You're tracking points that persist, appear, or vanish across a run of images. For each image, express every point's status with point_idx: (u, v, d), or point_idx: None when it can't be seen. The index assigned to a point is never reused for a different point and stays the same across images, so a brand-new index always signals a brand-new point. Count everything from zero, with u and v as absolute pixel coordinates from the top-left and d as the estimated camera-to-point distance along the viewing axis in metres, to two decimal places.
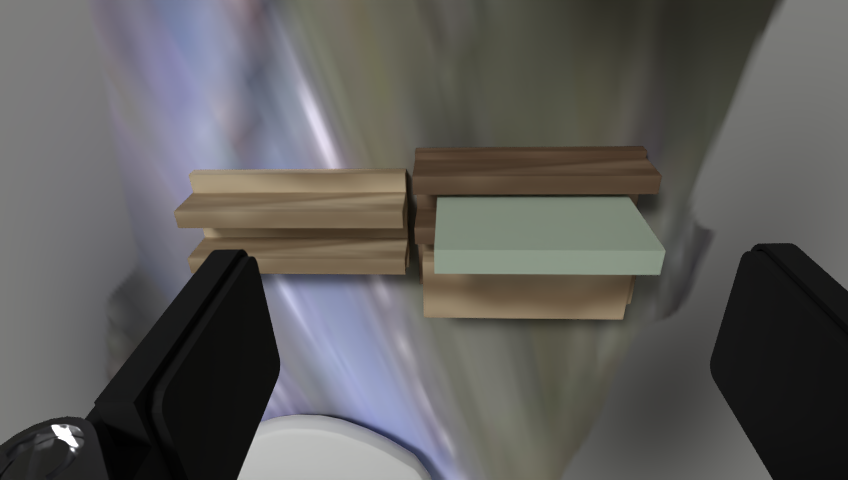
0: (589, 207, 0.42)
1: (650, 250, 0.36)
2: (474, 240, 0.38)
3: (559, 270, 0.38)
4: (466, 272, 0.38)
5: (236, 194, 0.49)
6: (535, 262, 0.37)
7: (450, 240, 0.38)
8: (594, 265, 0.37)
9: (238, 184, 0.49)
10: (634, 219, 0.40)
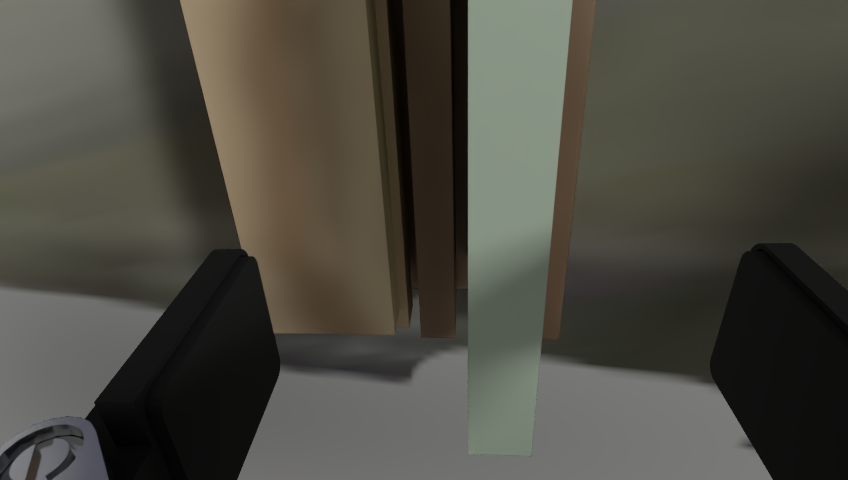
0: None
1: None
2: None
3: (480, 267, 0.13)
4: None
5: None
6: (510, 205, 0.12)
7: None
8: (496, 341, 0.14)
9: None
10: None
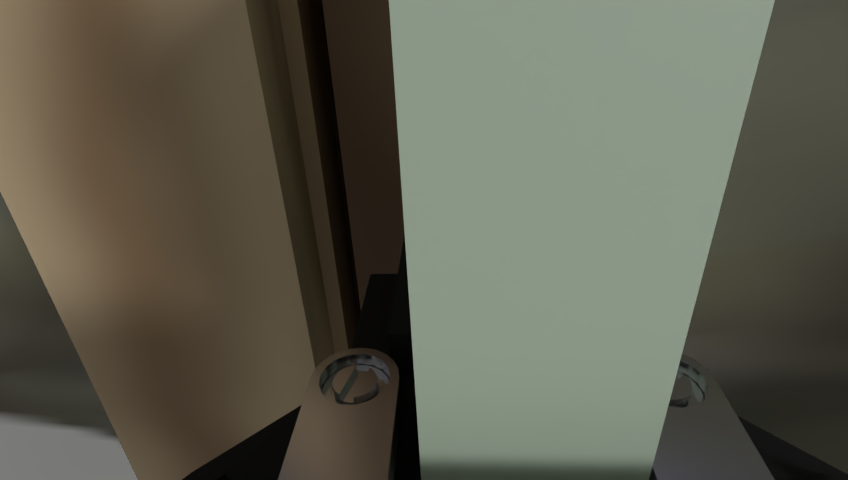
0: None
1: None
2: None
3: None
4: (415, 77, 0.03)
5: None
6: None
7: None
8: None
9: None
10: None
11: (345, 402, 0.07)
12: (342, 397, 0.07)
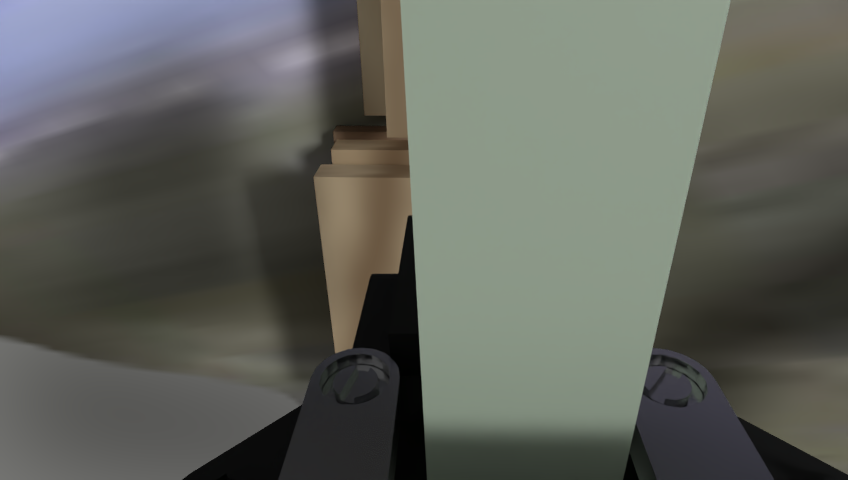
0: None
1: None
2: None
3: None
4: (422, 69, 0.03)
5: None
6: None
7: None
8: None
9: None
10: None
11: (345, 402, 0.07)
12: (343, 397, 0.07)
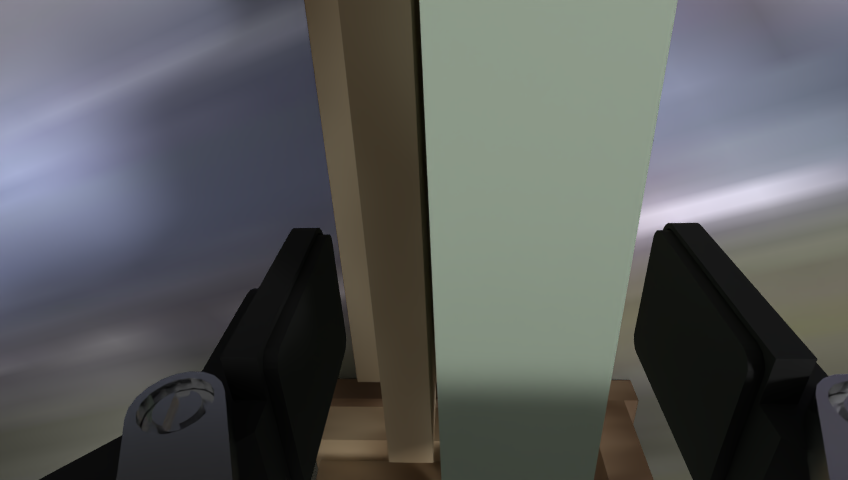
0: None
1: None
2: None
3: None
4: (436, 44, 0.04)
5: None
6: (518, 448, 0.07)
7: None
8: None
9: None
10: None
11: (170, 431, 0.07)
12: (166, 427, 0.07)
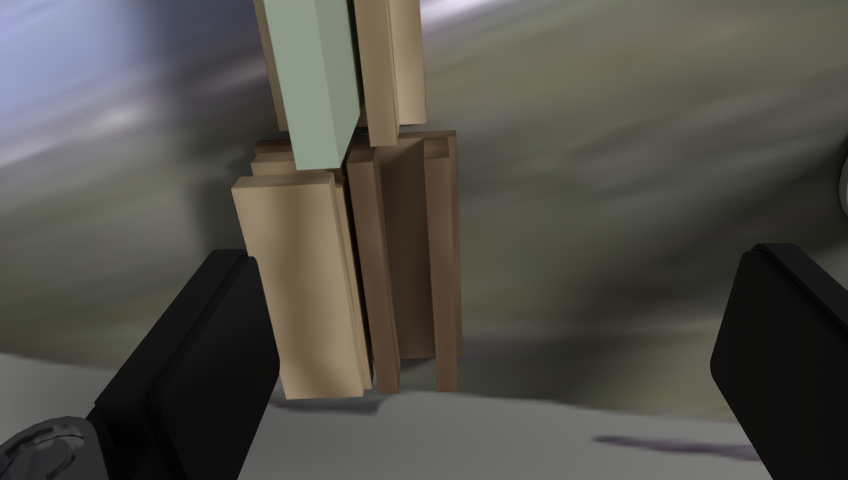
0: (348, 55, 0.28)
1: (336, 146, 0.24)
2: None
3: (271, 2, 0.21)
4: None
5: None
6: None
7: None
8: (294, 64, 0.22)
9: None
10: (350, 121, 0.28)
11: None
12: None
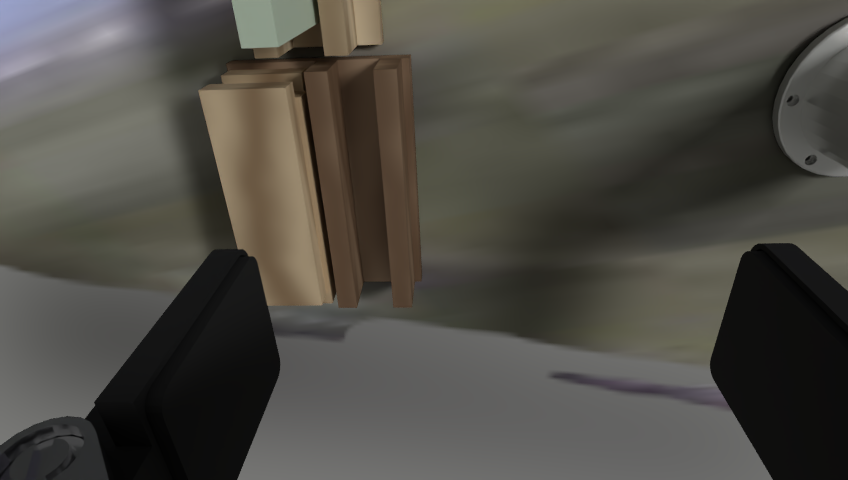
0: None
1: (275, 26, 0.27)
2: None
3: None
4: None
5: None
6: None
7: None
8: None
9: None
10: (299, 20, 0.31)
11: None
12: None
